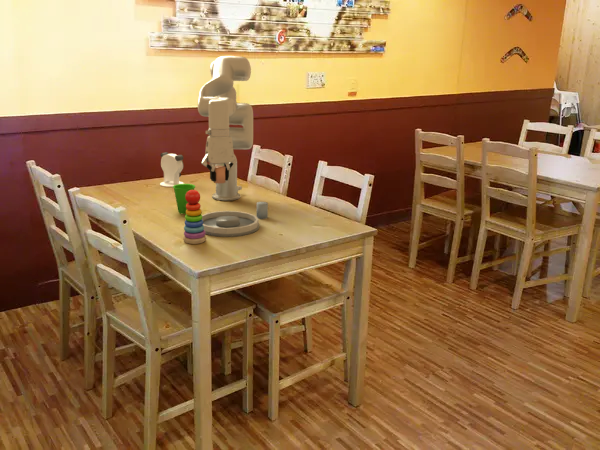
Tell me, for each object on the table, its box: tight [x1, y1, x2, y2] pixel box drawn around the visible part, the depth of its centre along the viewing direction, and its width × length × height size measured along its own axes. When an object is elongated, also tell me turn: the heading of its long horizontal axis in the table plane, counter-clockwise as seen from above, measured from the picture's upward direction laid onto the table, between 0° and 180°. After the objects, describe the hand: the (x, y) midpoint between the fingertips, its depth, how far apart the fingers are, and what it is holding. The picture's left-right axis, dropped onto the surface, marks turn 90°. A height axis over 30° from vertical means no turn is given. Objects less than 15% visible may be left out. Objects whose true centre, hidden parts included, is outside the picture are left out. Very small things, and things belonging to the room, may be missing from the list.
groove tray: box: [201, 210, 260, 238], centre depth 223 cm, size 24×24×3 cm
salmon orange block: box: [213, 166, 226, 184], centre depth 224 cm, size 4×4×6 cm
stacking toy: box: [182, 189, 207, 245], centre depth 204 cm, size 8×8×19 cm
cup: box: [172, 183, 196, 215], centre depth 239 cm, size 9×9×11 cm
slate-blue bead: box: [256, 201, 269, 220], centre depth 236 cm, size 4×4×6 cm
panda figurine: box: [159, 151, 185, 188], centre depth 283 cm, size 12×11×15 cm
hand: (219, 179), depth 224 cm, fingers closed on salmon orange block, 4 cm apart
